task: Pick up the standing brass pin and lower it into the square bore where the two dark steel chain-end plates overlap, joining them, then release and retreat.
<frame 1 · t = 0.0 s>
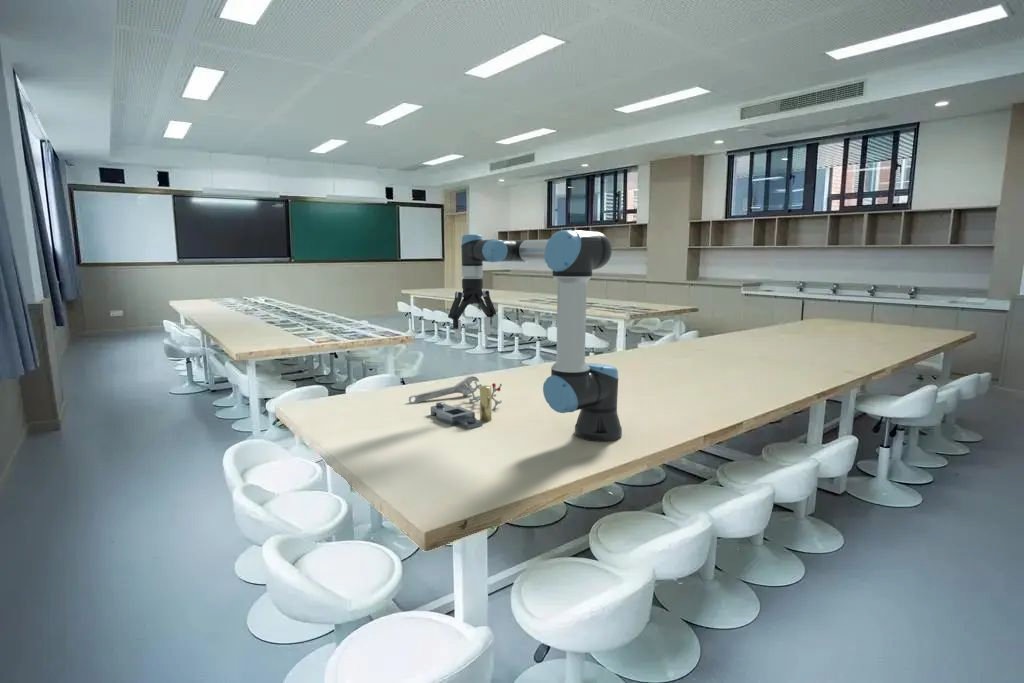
hand: (472, 336, 203), 28 cm above the table, fingers open, 13 cm apart
link plate b: (455, 419, 194), on the table
link plate a: (455, 419, 194), on the table
pin: (485, 420, 194), on the table
molecular model: (482, 405, 214), on the table
wrench: (444, 399, 223), on the table
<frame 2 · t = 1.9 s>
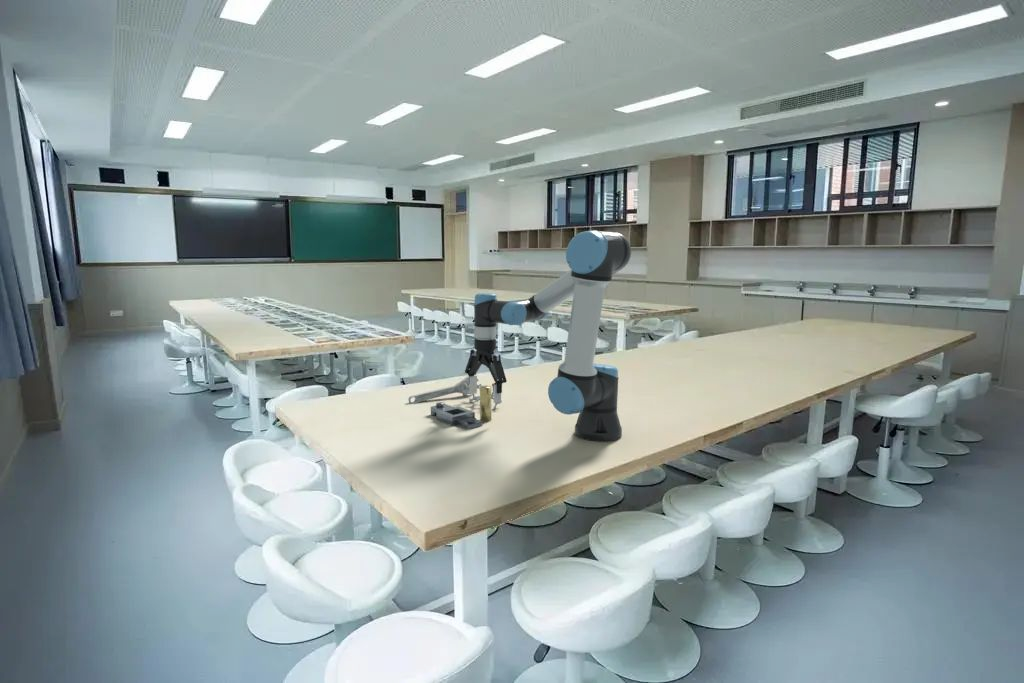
hand: (484, 397, 193), 8 cm above the table, fingers open, 13 cm apart
nothing on the table moved.
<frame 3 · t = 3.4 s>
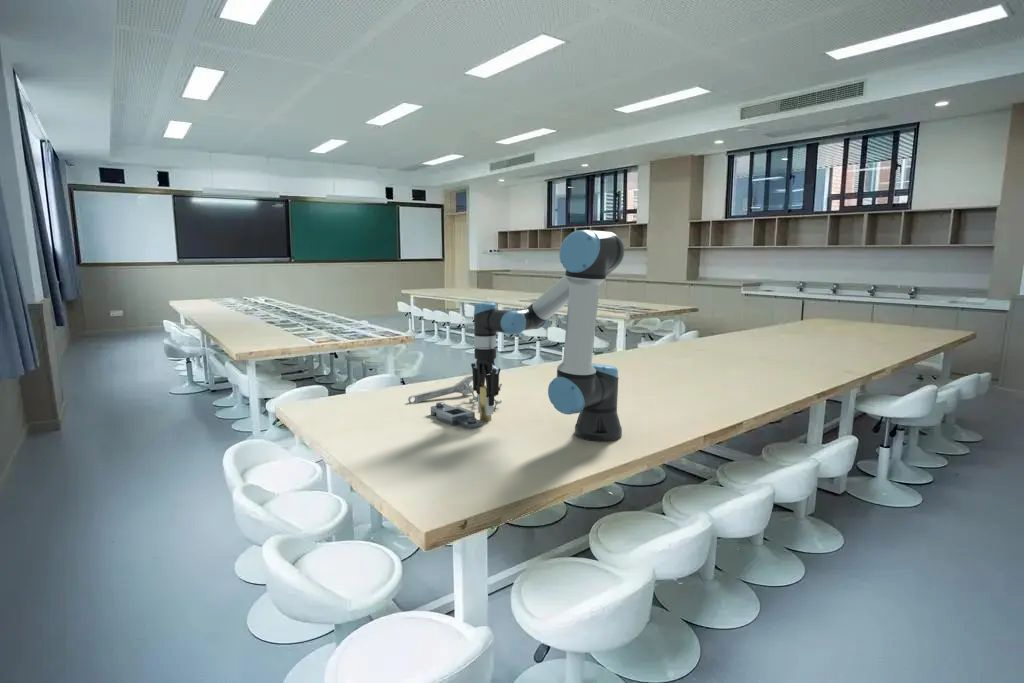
hand: (485, 412, 194), 3 cm above the table, fingers closed on pin, 4 cm apart
pin: (485, 419, 195), on the table, touching gripper
everything else where it was.
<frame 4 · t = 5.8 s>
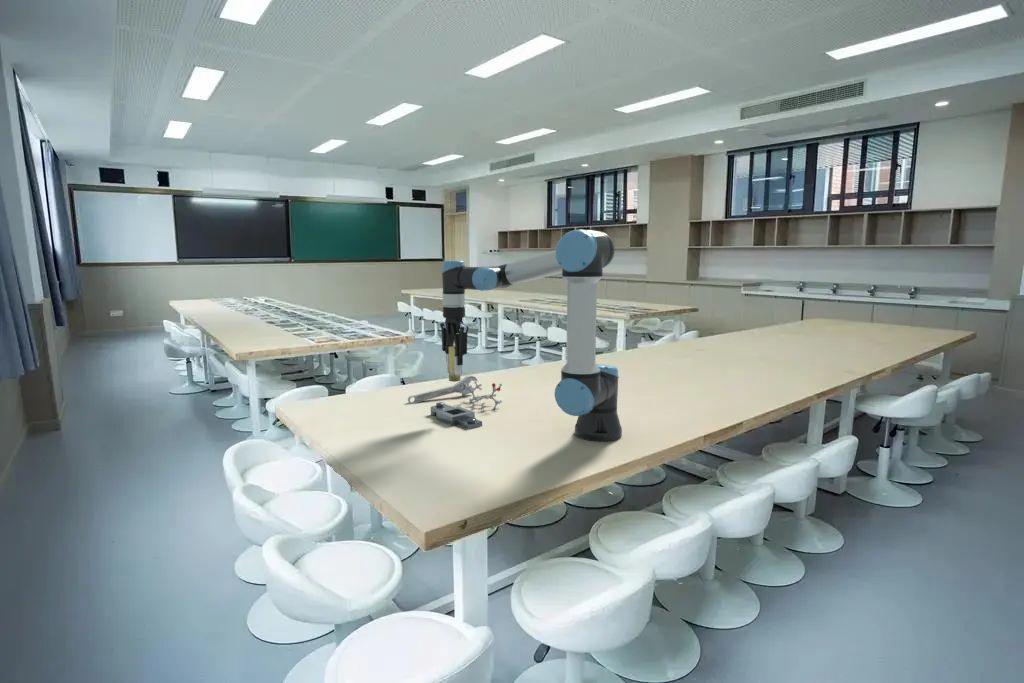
hand: (454, 372, 192), 17 cm above the table, fingers closed on pin, 4 cm apart
pin: (454, 380, 192), point 14 cm above the table, touching gripper
everything else where it was.
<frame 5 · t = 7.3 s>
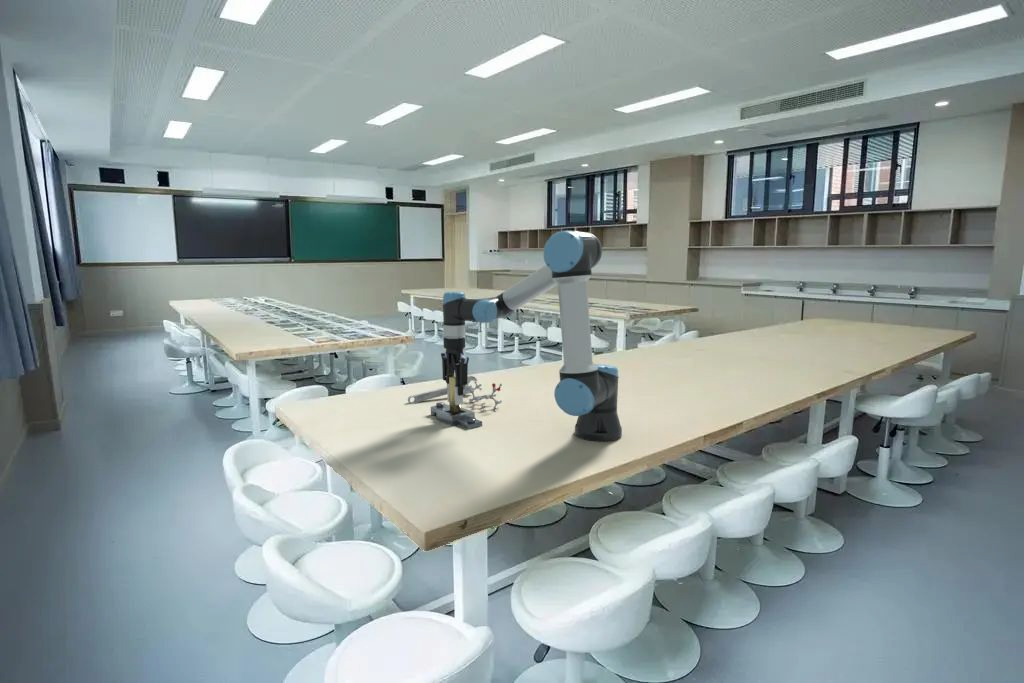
hand: (455, 402, 194), 6 cm above the table, fingers closed on pin, 4 cm apart
pin: (455, 410, 194), point 3 cm above the table, touching gripper
everything else where it was.
when the fingers open (4 cm above the table, at t = 8.3 s): pin stays where it is, on the table.
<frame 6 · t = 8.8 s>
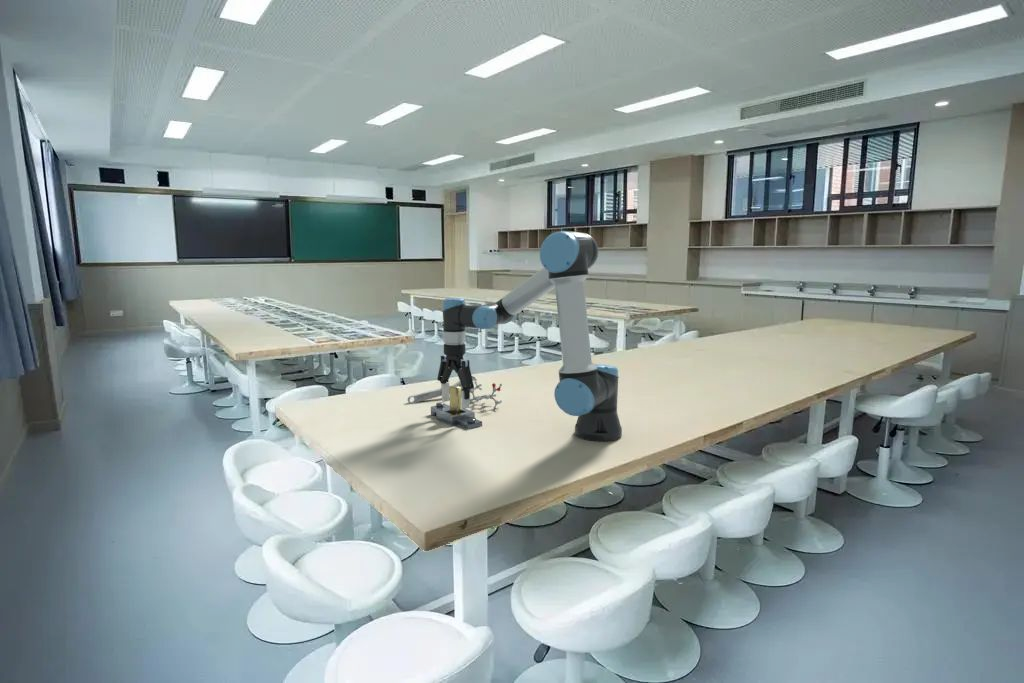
hand: (455, 404, 194), 6 cm above the table, fingers open, 11 cm apart
pin: (455, 420, 194), on the table
everything else where it was.
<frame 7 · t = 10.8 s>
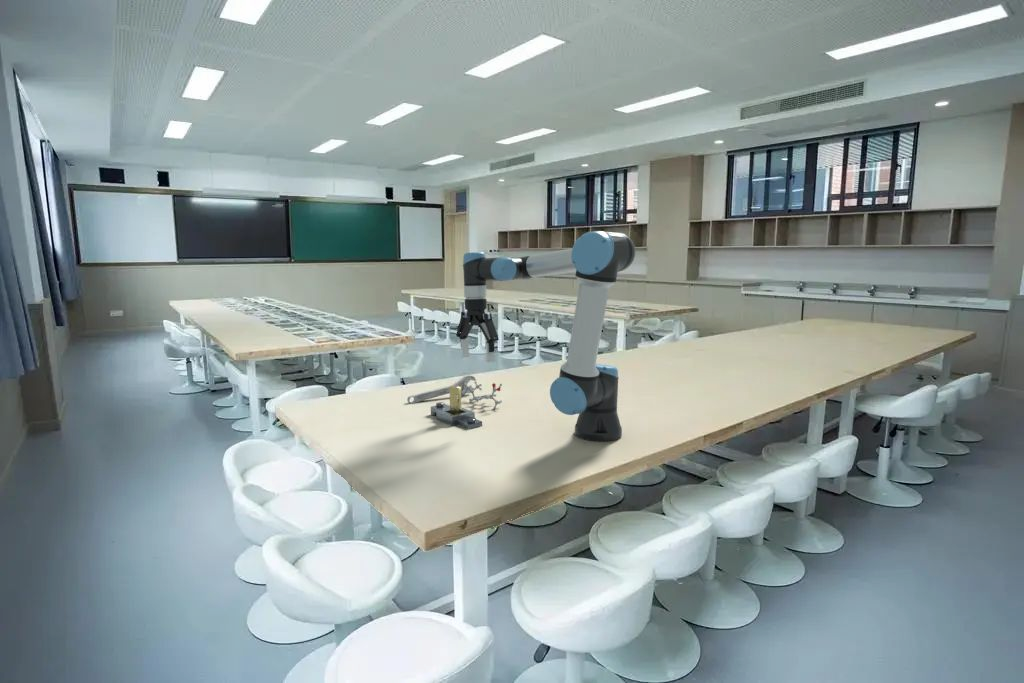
hand: (477, 359, 191), 22 cm above the table, fingers open, 13 cm apart
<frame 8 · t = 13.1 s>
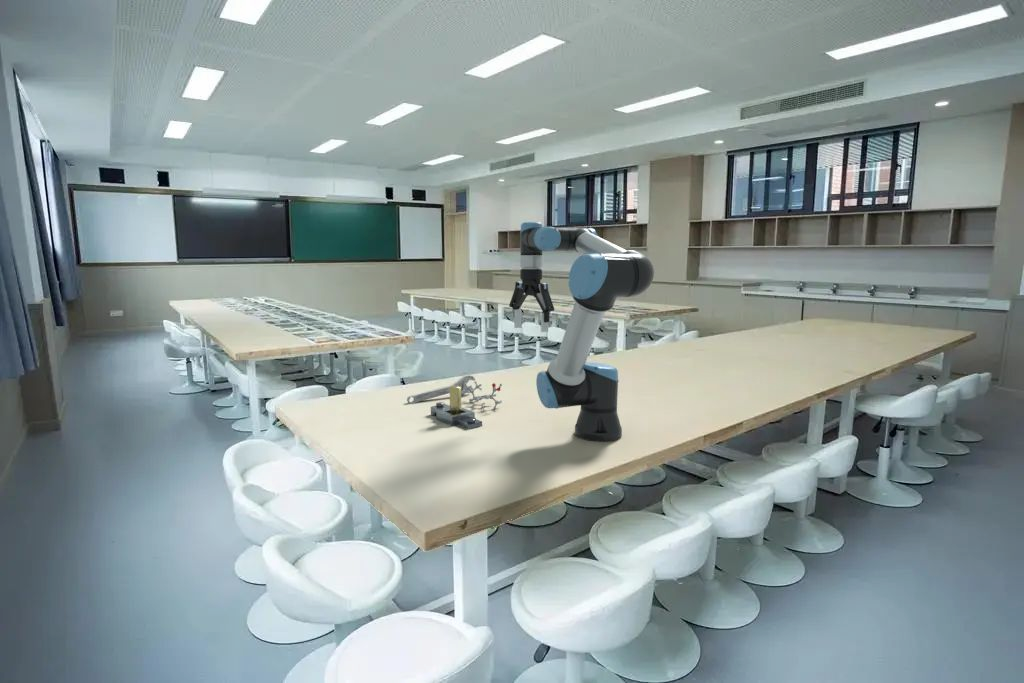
hand: (530, 329, 193), 32 cm above the table, fingers open, 13 cm apart
at the end: pin 0.0 cm off-centre on the link plate a, point 0.0 cm above the link plate a's base; pin tilted 0°; the gripper is holding nothing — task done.
